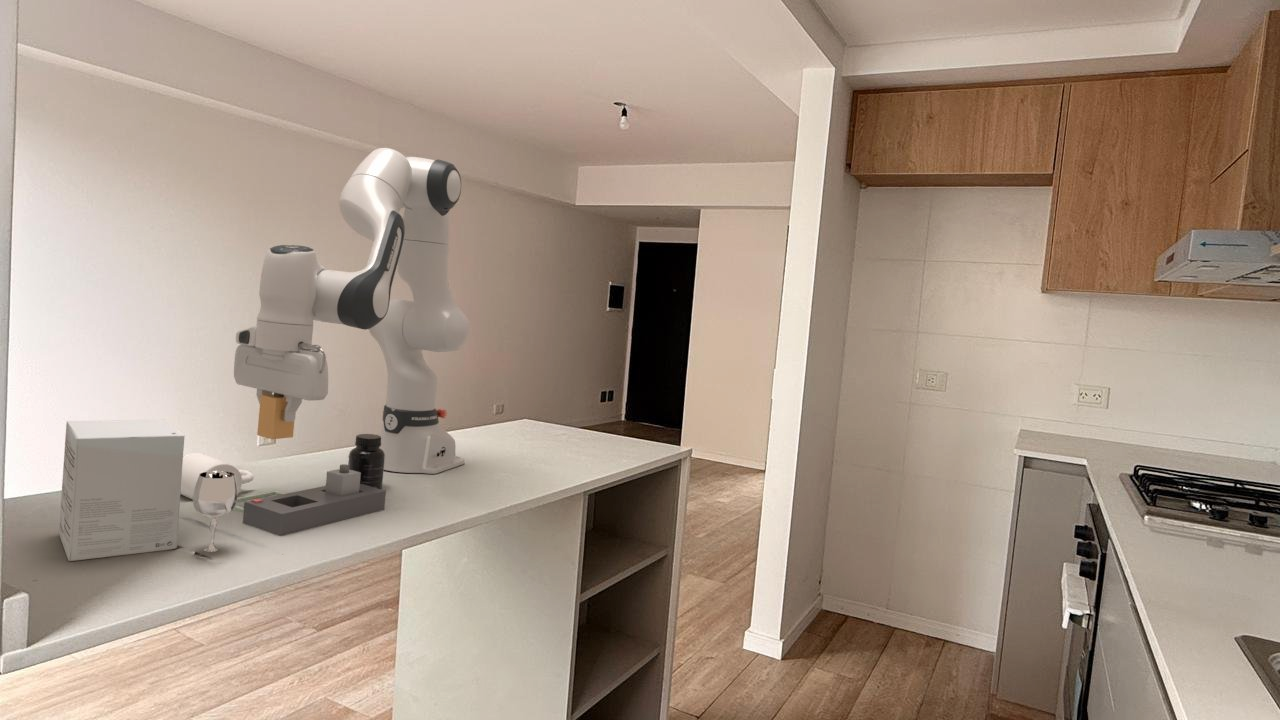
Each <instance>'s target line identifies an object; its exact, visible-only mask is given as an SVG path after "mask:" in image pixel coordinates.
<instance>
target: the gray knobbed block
mask: <svg viewBox="0 0 1280 720" xmlns="http://www.w3.org/2000/svg"><path fill="white" fill-rule="evenodd" d="M360 477H361V472H357V471H353V470H350V469H349V465H348V464H346V463H343V464H340V465H339V469H333V470H328V471H326V480H325V486H326V490H325V492H327V493H330V494H334V495H337V496H340V497H342V496H347V495H352V494H356V493H359V488H360Z"/></svg>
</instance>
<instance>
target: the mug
mask: <svg viewBox="0 0 1280 720" xmlns="http://www.w3.org/2000/svg"><path fill="white" fill-rule="evenodd" d="M208 471H227V472H232V473H234V474H235V478H236V483H237V496H238V495H239V493H240V492H241V489H242V485H243V484H248V483H250V482H253V481H254V479H255V477H254V474H253V473H252V472H251V471H249V470H247V469H246V470H245V469H238V468H237V467H236V466H234V465H233V464H230V463H228V462H225V461H223V460H221V459H217V458H215V457H212V456H210V455H207V454H205V453H202V452H191V453H187V454H186V455H183V463H182V479H181V494H180V496H184V497H185V498H188V499H190V500H192V501H193V493H194V489H195V485H196V482H197V480H198V477H199V474H200V473H203V472H208Z"/></svg>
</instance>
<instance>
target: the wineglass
mask: <svg viewBox="0 0 1280 720" xmlns="http://www.w3.org/2000/svg"><path fill="white" fill-rule="evenodd" d="M237 498H238V495H237V483H236V478H235V474H234V473H232V472H227V471H208V472H203V473H200V474H199V477H198V480H197V482H196V485H195V489H194V493H193V500H192V503H193V507H194V510H195V511H196V512H197V513H198V514H200V515H202V516H203V517H204V516H205V517H208V518H211V519H210V521H209V528H210V541H209V545H208V547H206V548H204V549H203V551H204V552H208V553H213V552H217V551H219V550H220V548H218V547H216V546H215V532H216V528H217V525H218V520H217V518H219V517H223V516H225V515H228V514H229V513H230V512H232V510H233V508H234V507H235V505H236V504H237V502H236V501H237ZM236 506H237V505H236ZM193 556H195V557H196V558H200V559H211V556H208V555H205V554H202V553H199V552H197V551H195V552H194V553H193Z"/></svg>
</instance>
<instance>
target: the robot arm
mask: <svg viewBox="0 0 1280 720" xmlns="http://www.w3.org/2000/svg"><path fill="white" fill-rule="evenodd" d="M461 192H462V177H461V174H460V171H458V169H457V168H456V166H455V165H454V164H453V163H452V162H448V161H445V160H441V159H436V160H435V159H431V158H425V157H420V156H419V157H418V156H405V155H403V153H401V152H400V151H398V150H396V149H393V148H389V147H379V148H376V149H374V150H373V151H371V152H370V153H369V154H368V155H367V156H366V157H365V158H364V159H363V160H362V161H361V162H360V163H359V164H358V166H357V167H356V168H355V170H354V171H353V173H352V174H351V176H350V177H349V179H348V181H347V182H346V184H345V186H344V187H343V188H342V191H341V194H340V196H339V201H338V205H339V206H338V207H339V211H340V213H341V216H342V218H343V220H344V221H345V223H347V225H348V226H349V228H351V229H352V230H353V231H354V232H355V233H356V234H358V235H360V236H362V237H365V238H367V239H369V240H370V241H372V242H373V244H372V247H371V250H370V252H369V256H368V260H367V263H366V265H365V267H364V268H362V269H361V270H357V271H344V270H334V269H329V268H326V267H325V266H323V265H322V264H321V263H319V261H317V253H316V251H315V249H314V248H311V247H310V246H306V245H297V244H296V245H294V244H291V245H290V244H289V245H288V244H281V245H274V246H273V247H270V248H269V249H268V250H267V252H266V254H265V256H264V260H263V263H262V268H261V274H260V283H259V292H258V295H259V299H260V308H259V311H258V314H257V317H256V325H253V326H251V327H248V328H245V329H242V330H238V331H237V332H236V334H235V343H236V344H238V346H237V348H236V349H235V353H234V360H233V361H234V362H233V378H234V380H235V383H236V384H237V385H239V386H243V387H248V388H252V389H256V398H257V401H258V404H259V405H260V398H261V395H272V394H274V393H278V394H282V395H286V402H288V404H287V406H286V408H285V410H283V411H281V420H282V421H286V422H293V421H294V422H295V420H296V412H297V411H298V409H299V408H300V406H301V404H302V403H303V400H304V401H323V400H325V398H326V397H327V395H328V394H329V366H328V361H327V354H326V353H325V351H324V350H323V348H322V346H320V345H318V344H313V333H314V321H316V322H322V323H330V324H337V325H344V326H346V327H352V328H355V329H356V328H357V329H361V330H363V331H365V330H368V332H369V334H370V335H371V337H372V338H373V339H374V341H376V342H377V344H378V346H379V347H380V349H381V351H382V354H383V357H384V360H385V365H386V371H387V382H386V383H387V385H386V387H387V388H386V401H385V402H386V403H385V405H384V406H383V410H382V422H383V426H382V427H381V431H380V435H379V436H381V446H380V447H379V448H380V449H381V450H383V452H384V453H385V460H384V471H389V472H395V473H396V472H397V473H405V474H406V473H408V474H410V473H411V474H413V473H414V474H416V473H417V474H427V475H428V474H429V475H430V474H431V475H435V474H438V473H439V474H440V473H441V472H444V471H447V470H450V469H453V468H457V467H459V466H462V465H464V464H465V459H464V458H462V457H459V456H458V455H456V446H457V445H456V440H455V438H454V437H453V436H452V435H451V434H450V433H448V431H446V430H445V428H443V427H442V426H441V424H439V422H440V421H439V418H441V419H446V417H447V414H448V412H447V410H445V409H441V408H439V409H436V408H435V406H436V396H437V387H438V386H437V385H438V378H437V374H436V373H435V370H433V369H432V368H431V367H430V366H429V365H428V364H427V362H426V360H425V358H424V354H423V351H429V352H434V353H445V352H456V351H459V350H460V349H461V348H463V346H464V345H465V344H466V342H467V340H468V339H469V335H470V323H469V320H468V318H467V316H466V314H465V313H464V312H463V311H462V310H461V309H460V307H459V306H458V304H457V303H456V301H455V299H454V296H453V294H452V291H451V287H450V285H449V279H448V278H449V277H448V276H449V275H448V270H449V269H448V268H449V267H448V264H449V251H450V250H449V249H450V248H449V247H450V218H449V217H450V216H449V212H450V210H451V209H453V208H454V207H455V206H456V204H457V203H458V202H459V200H460V197H461V194H462V193H461ZM401 209H404V210H403V215H402V216H401V214H400V210H401ZM396 270H397V274H398V276H399V277H400V279H401V280H402V281H403V282H405V283H406V285H408V287H409V288H410V291H411V293H412V297H413V301H412V300H406V299H396V298H395V299H391V290H392V285H393V282H394V278H395V275H396Z"/></svg>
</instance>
